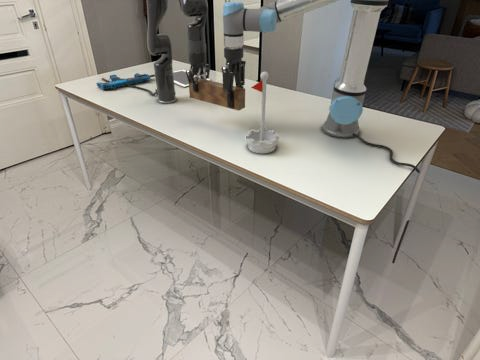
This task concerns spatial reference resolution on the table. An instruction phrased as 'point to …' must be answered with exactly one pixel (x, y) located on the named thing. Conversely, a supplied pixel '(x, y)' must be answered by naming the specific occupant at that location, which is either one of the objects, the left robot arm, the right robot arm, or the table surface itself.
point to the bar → (217, 94)
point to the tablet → (181, 78)
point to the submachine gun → (124, 81)
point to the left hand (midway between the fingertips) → (199, 90)
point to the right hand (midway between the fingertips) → (234, 105)
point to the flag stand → (262, 125)
